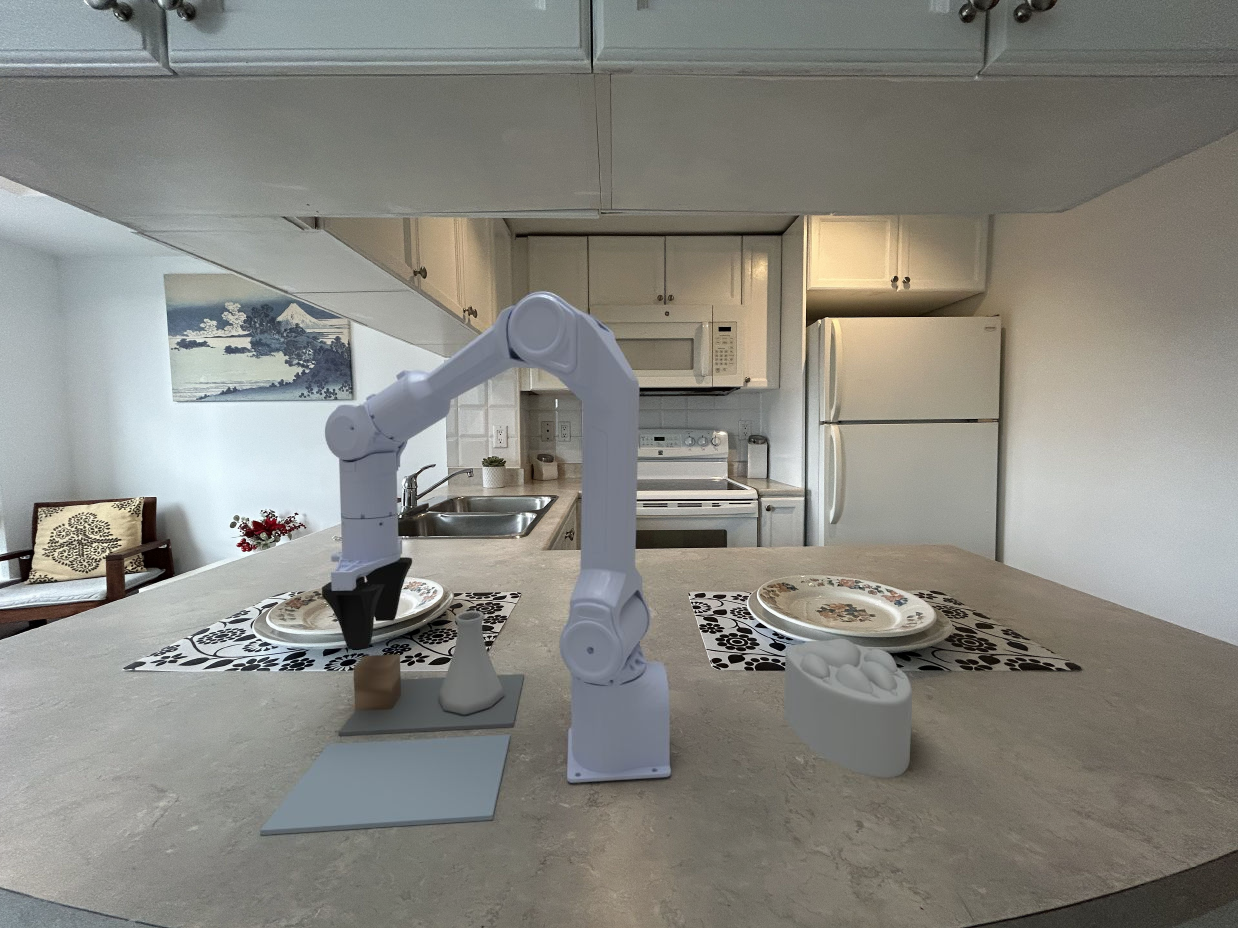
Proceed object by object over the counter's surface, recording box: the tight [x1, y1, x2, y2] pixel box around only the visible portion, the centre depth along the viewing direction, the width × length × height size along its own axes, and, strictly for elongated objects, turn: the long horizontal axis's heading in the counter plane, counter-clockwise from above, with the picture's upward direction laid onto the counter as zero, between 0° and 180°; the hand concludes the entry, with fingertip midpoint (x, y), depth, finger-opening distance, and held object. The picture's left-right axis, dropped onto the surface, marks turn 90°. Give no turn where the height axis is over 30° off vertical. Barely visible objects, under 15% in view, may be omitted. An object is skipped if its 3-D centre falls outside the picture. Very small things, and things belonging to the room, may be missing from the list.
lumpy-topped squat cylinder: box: [783, 638, 913, 779], centre depth 52 cm, size 10×13×9 cm
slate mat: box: [259, 734, 511, 836], centre depth 46 cm, size 18×11×1 cm, turn 95°
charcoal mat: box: [338, 653, 525, 737], centre depth 59 cm, size 18×11×5 cm, turn 95°
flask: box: [438, 610, 505, 715], centre depth 59 cm, size 7×7×10 cm
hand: (373, 632), depth 58 cm, fingers open, 7 cm apart
